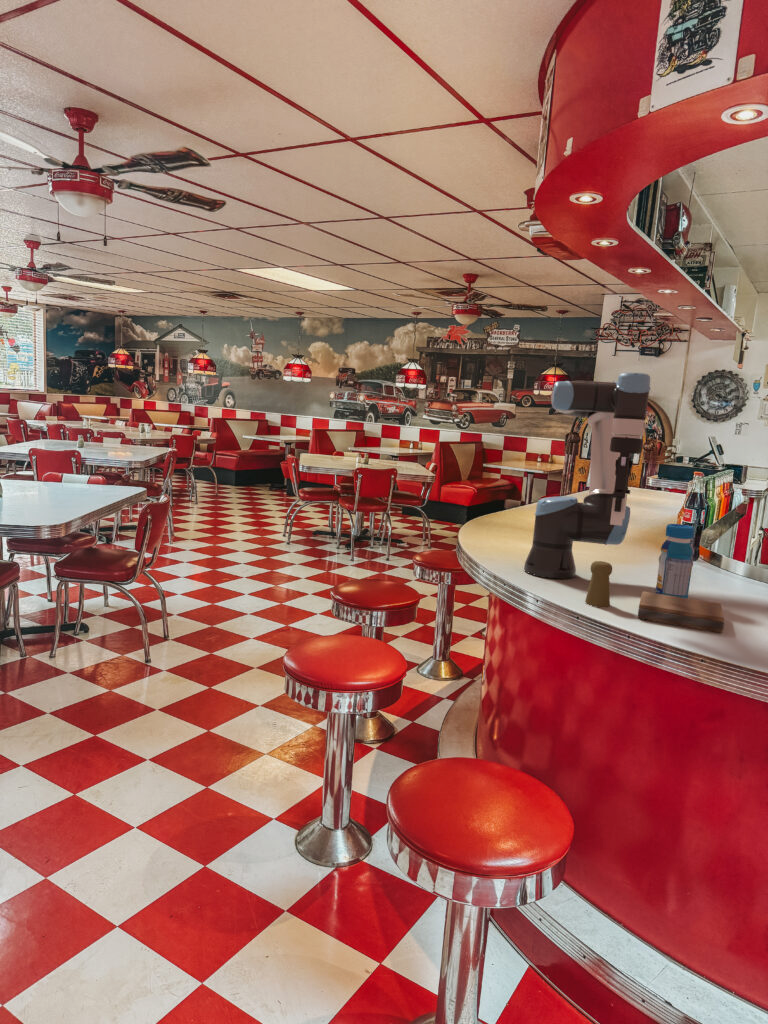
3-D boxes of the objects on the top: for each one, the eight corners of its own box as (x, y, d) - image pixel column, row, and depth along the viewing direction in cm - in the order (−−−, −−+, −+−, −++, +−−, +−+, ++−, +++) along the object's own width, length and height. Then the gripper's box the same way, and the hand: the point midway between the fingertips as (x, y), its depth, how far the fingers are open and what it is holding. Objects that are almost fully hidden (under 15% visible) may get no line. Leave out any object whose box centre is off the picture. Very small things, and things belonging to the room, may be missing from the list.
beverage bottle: (673, 604, 168) (683, 529, 165) (647, 595, 176) (656, 523, 173) (695, 601, 172) (705, 528, 169) (668, 593, 180) (677, 522, 177)
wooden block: (637, 619, 152) (639, 605, 152) (640, 604, 166) (642, 591, 165) (722, 634, 145) (724, 619, 145) (718, 617, 159) (720, 603, 158)
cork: (609, 602, 166) (614, 561, 164) (609, 608, 160) (614, 565, 158) (585, 599, 167) (589, 558, 166) (584, 605, 162) (589, 562, 160)
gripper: (642, 437, 146) (631, 529, 149) (644, 438, 169) (634, 517, 172) (608, 435, 149) (597, 525, 152) (614, 436, 172) (605, 514, 175)
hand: (617, 521), depth 162 cm, fingers open, 13 cm apart
